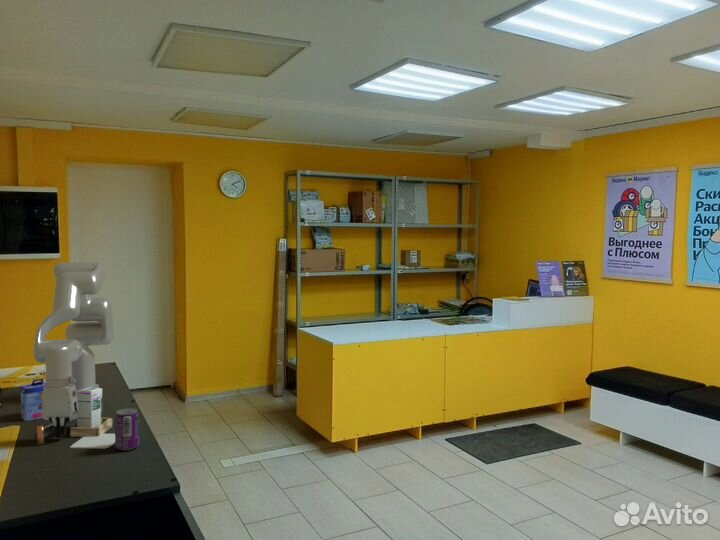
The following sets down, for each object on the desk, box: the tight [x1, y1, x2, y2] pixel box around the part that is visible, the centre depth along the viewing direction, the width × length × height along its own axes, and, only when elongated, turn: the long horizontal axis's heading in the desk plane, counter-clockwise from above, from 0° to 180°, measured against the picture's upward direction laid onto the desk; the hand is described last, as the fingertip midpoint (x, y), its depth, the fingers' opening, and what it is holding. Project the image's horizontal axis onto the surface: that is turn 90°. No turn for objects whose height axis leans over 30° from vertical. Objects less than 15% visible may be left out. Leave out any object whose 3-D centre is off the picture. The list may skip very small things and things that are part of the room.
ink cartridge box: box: [20, 378, 46, 422], centre depth 211 cm, size 10×6×14 cm, turn 137°
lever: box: [36, 413, 77, 446], centre depth 193 cm, size 19×2×6 cm, turn 165°
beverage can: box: [114, 407, 140, 452], centre depth 183 cm, size 7×7×12 cm
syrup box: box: [77, 387, 103, 428], centre depth 197 cm, size 6×6×14 cm
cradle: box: [69, 417, 114, 438], centre depth 197 cm, size 11×10×3 cm
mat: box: [69, 433, 115, 450], centre depth 188 cm, size 12×12×1 cm
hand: (60, 436), depth 189 cm, fingers closed
